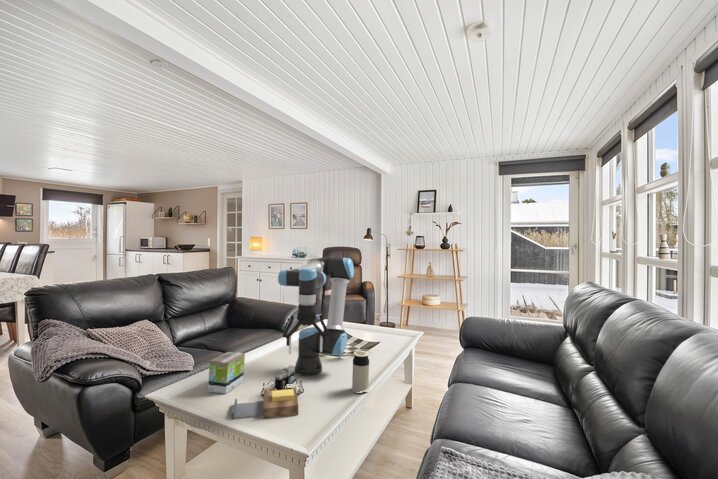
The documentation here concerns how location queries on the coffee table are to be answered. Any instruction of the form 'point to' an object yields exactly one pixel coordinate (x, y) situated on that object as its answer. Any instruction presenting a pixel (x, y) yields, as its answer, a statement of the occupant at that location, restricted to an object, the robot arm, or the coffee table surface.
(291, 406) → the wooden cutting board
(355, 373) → the travel mug
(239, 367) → the tea box
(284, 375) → the camera
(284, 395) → the yellow sticky note pad
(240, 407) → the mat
